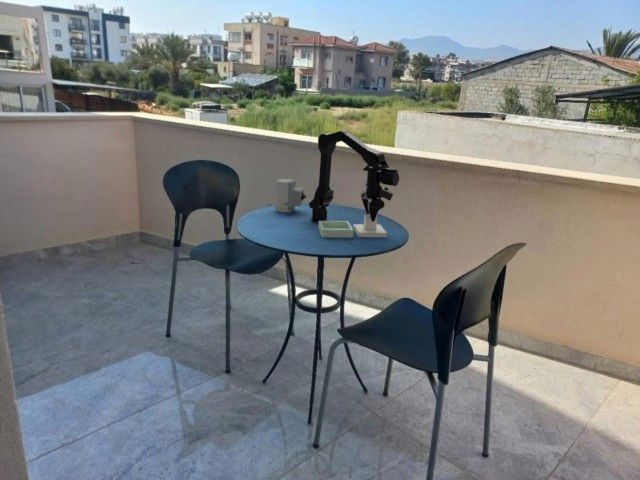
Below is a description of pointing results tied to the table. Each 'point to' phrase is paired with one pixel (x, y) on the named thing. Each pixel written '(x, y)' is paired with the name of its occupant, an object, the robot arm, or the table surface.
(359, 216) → the table surface
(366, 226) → the block
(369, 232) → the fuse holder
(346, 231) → the parts tray
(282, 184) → the circuit breaker
